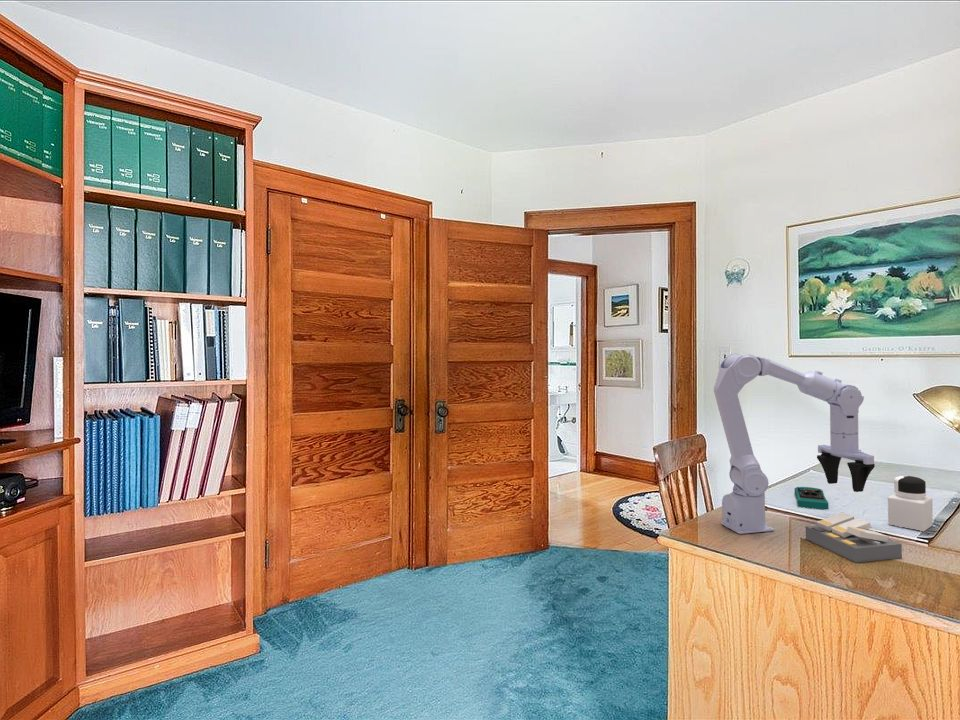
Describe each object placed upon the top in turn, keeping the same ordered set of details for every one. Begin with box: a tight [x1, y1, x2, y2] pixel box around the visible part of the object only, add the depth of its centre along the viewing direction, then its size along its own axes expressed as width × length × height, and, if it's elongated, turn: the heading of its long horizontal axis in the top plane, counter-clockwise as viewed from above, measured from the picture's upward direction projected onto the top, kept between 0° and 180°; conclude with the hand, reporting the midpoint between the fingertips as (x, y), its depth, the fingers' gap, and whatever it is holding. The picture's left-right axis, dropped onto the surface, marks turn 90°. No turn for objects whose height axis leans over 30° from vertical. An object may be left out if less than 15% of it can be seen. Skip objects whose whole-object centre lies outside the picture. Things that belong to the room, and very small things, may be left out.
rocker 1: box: [816, 512, 855, 531], centre depth 122 cm, size 7×3×1 cm, turn 98°
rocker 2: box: [831, 517, 872, 538], centre depth 118 cm, size 7×3×1 cm, turn 98°
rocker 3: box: [847, 527, 889, 542], centre depth 114 cm, size 7×3×1 cm, turn 98°
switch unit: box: [805, 524, 903, 564], centre depth 118 cm, size 11×14×4 cm
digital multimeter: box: [794, 486, 830, 510], centre depth 152 cm, size 7×15×3 cm, turn 152°
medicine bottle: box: [887, 475, 934, 533], centre depth 130 cm, size 7×7×12 cm
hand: (844, 487), depth 130 cm, fingers open, 7 cm apart
